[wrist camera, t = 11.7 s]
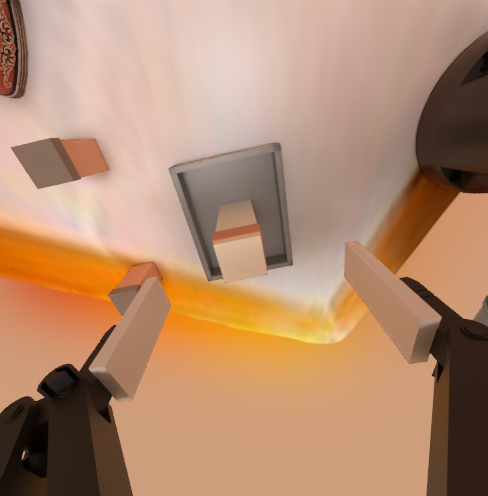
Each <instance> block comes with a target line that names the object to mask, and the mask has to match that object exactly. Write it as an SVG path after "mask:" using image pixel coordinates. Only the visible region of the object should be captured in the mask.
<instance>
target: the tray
mask: <svg viewBox="0 0 488 496" xmlns="http://www.w3.org/2000/svg"><path fill="white" fill-rule="evenodd" d="M169 171H170V174H171V177H172V180H173V183H174V186H175V188H176V191H177V194H178V197H179V200H180V203H181V205H182V208H183V211H184V214H185V217H186V220H187V223H188V225H189V228H190V231H191V234H192V237H193V240H194V242H195V245H196V248H197V251H198V254H199V257H200V260H201V262H202V265H203V268H204V271H205V274H206V277H207V279H208V281H213V280H218V279H223V275H222V272H221V269H220V266H219V263H218V259H217V256H216V253H215V250H214V246H213V242H212V239H213V233H214V232H215V231H216V226H217V220H218V214H219V209H220V205H225V204H230V203H234V202H239V201H244V200H248V199H250V200H251V203H252V207H253V210H254V214H255V218H256V221H257V223H258V224H259V227H260V231H261V236H262V242H263V247H264V253H265V258H266V264H267V269H268V270H270V269H275V268H280V267H285V266H290V265H293V261H292V252H291V242H290V233H289V223H288V214H287V204H286V195H285V186H284V176H283V167H282V157H281V148H280V144H279V143H272V144H267V145H263V146H258V147H254V148H249V149H245V150H240V151H236V152H231V153H227V154H222V155H218V156H214V157H209V158H205V159H200V160H196V161H191V162H187V163H182V164H178V165H174V166H172V167H170V168H169Z"/></svg>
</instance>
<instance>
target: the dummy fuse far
mask: <svg viewBox="0 0 488 496" xmlns="http://www.w3.org/2000/svg"><path fill="white" fill-rule="evenodd" d="M152 277H158V279H159V281H160V282H161V280H162V278H161V276H160V274H159V272H158V270H157V268H156V266H155V264H154V262H150V263H145V264H140V265H135V266H132V267H131V268H130V270H129V271H128V272H127V274H126V275H125V276H124V277H123V279H122V280H121V281H120V283H119V284H118V285H117V287H116V288H115V289H113V290H112V291H111V292H110V294H109V295H108V296H109V297H110V299H111V300H112V302H113V303H114V305H115V306H116V308H117V309H118V311H119V312H120V314H121V315H122V316H123V315H124V313H125V312H126V310H127V309H128V307H129V306H130V304H131V303H132V301H133V299H134V298H135V296H136V295H137V293H138V292H139V290H140V289H141V287H142V286H143V284H144V283H145V281H146V280H147V278H152Z"/></svg>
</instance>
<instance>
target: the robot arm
mask: <svg viewBox="0 0 488 496" xmlns="http://www.w3.org/2000/svg"><path fill="white" fill-rule="evenodd" d="M417 157H418V161H419V165H420V167H421V169H422V171H423V173H424V174H425V176H426V177H427V178H428V179H429V180H430V181H431V182H433V183H434V184H436V185H438V186H440V187H443V188H446V189H450V190H454V191H458V192H463V193H488V32H487V33H485V34H484V35H482V36H481V37H480V38H479V39H477V40H476V41H475V42H474V43H472V44H471V45H470V46H469V47H468V48H467V49H466V50H465V51H464V52H463V53H462V54H461V55H460V56H459V57H458V58H457V59H456V60H455V61H454V62H453V63H452V65H451V66H450V67H449V68H448V70H447V71H446V72H445V73H444V75H443V76H442V78H441V79H440V81H439V82H438V84H437V85H436V87H435V89H434V90H433V92H432V94H431V96H430V98H429V100H428V102H427V104H426V106H425V109H424V112H423V114H422V117H421V121H420V124H419V129H418V134H417ZM344 276H345V278H346V279H347V280H348V282H349V283H350V285H351V286H352V287H353V289H354V290H355V291H356V293H357V294H358V295H359V297H360V298H361V299H362V301H363V302H364V303H365V305H366V306H367V308H368V309H369V310H370V312H371V313H372V314H373V316H374V317H375V318H376V320H377V321H378V322H379V324H380V325H381V326H382V328H383V329H384V331H385V332H386V333H387V334H388V336H389V337H390V338H391V340H392V341H393V343H394V344H395V345H396V347H397V348H398V349H399V351H400V352H401V353H402V355H403V356H404V358H405V359H406V360H407V362H408V363H409V364H411V363H418V362H427V360H428V357H429V354H430V353H431V354H432V355H433V357H434V358H435V359H436V360H437V363H436V366H435V369H434V371H433V374H432V376H434V377H435V382H434V398H433V411H432V425H431V440H430V454H429V468H428V483H427V496H488V296H487V297H486V298H485V300H484V301H483V306H482V308H481V309H480V310H479V312H478V313H477V315H476V316H475V317H474V319H473V320H468V319H463V318H462V317H461V316H459V315H458V314H457V313H456V312H455V311H453V310H452V309H451V308H450V307H448V306H447V305H446V304H445V303H444V302H442V301H441V300H440V299H439V298H437V297H436V296H434V294H433V293H431V292H430V291H428V290H427V289H426V288H425V287H424V286H423V285H422V284H420V283H419V282H417V281H415V280H413V279H411V278H408V277H404V278H398V277H397V276H396V275H395V274H394V273H392V272H391V271H390V270H389V269H388V268H387V267H386V266H385V265H384V264H382V263H381V262H380V261H379V260H378V259H377V258H376V257H375V256H374V255H372V254H371V253H370V252H369V251H368V250H367V249H366V248H365V247H364V246H362V245H361V244H360V243H359V242H358V241H353V242H347V243H345V272H344ZM170 307H171V304H170V302H169V299H168V297H167V295H166V293H165V291H164V289H163V287H162V285H161V283H160V281H159V279H158V277H152V278H147V280H146V281H145V283H144V284H143V286H142V287H141V289H140V290H139V292H138V293H137V295H136V296H135V298H134V299H133V301H132V303H131V304H130V306H129V307H128V309H127V310H126V312H125V313H124V315H123V316H122V318H121V319H120V321H119V322H118V324H117V325H113V327H111V328H110V329H109V330H108V331H107V332H106V333H105V335H104V336H103V337H102V339H101V340H100V343H98V345H97V346H96V348H95V350H94V351H93V352H92V354H91V355H90V356H89V358H88V359H87V361H86V362H85V364H84V365H83V367H82V368H81V370H80V371H78V370H77V369H76V368H75V367H74V366H73V365H72V364H65V365H62V366H60V367H58V368H56V369H54V370H53V371H52V372H50V373H49V374H48V375H47V376H46V377H45V378H44V379H43V380H42V381H41V383H40V384H39V386H38V389H37V391H38V392H39V393H40V394H42V395H43V396H44V397H45V398H43V399H40V400H38V401H35V400H34V399H32V398H31V397H28V396H26V397H23V398H20V399H18V400H16V401H15V402H13V403H12V404H10V405H9V406H8V407H6V408H5V409H4V410H3V411H2V412H1V413H0V496H133V494H132V490H131V486H130V482H129V477H128V474H127V469H126V465H125V461H124V457H123V453H122V449H121V445H120V440H119V436H118V432H117V428H116V424H115V420H114V416H113V411H112V407H111V406H110V404H109V401H110V399H111V397H112V396H113V397H114V398H115V399H116V400H117V401H118V402H122V401H130V400H133V397H134V395H135V393H136V390H137V388H138V385H139V383H140V381H141V378H142V376H143V373H144V371H145V368H146V366H147V363H148V361H149V359H150V356H151V354H152V351H153V349H154V346H155V344H156V341H157V339H158V336H159V334H160V331H161V329H162V326H163V324H164V322H165V319H166V316H167V314H168V312H169V309H170ZM23 451H25V455H24V458H23V459H22V454H23ZM21 459H22V460H21Z"/></svg>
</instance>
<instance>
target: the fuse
mask: <svg viewBox="0 0 488 496" xmlns="http://www.w3.org/2000/svg"><path fill="white" fill-rule="evenodd" d="M212 242H213V246H214V250H215V253H216V256H217V259H218V263H219V266H220V269H221V272H222V275H223V279H224V282H231V281H236V280H241V279H246V278H251V277H256V276H262V275H267V271H268V269H267V264H266V258H265V253H264V247H263V242H262V236H261V231H260V227H259V224H258V223H257V221H256V218H255V214H254V210H253V207H252V203H251V200H250V199H248V200H244V201H239V202H234V203H230V204H225V205H220V209H219V214H218V220H217V226H216V231H215V232H214V233H213V239H212Z"/></svg>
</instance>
